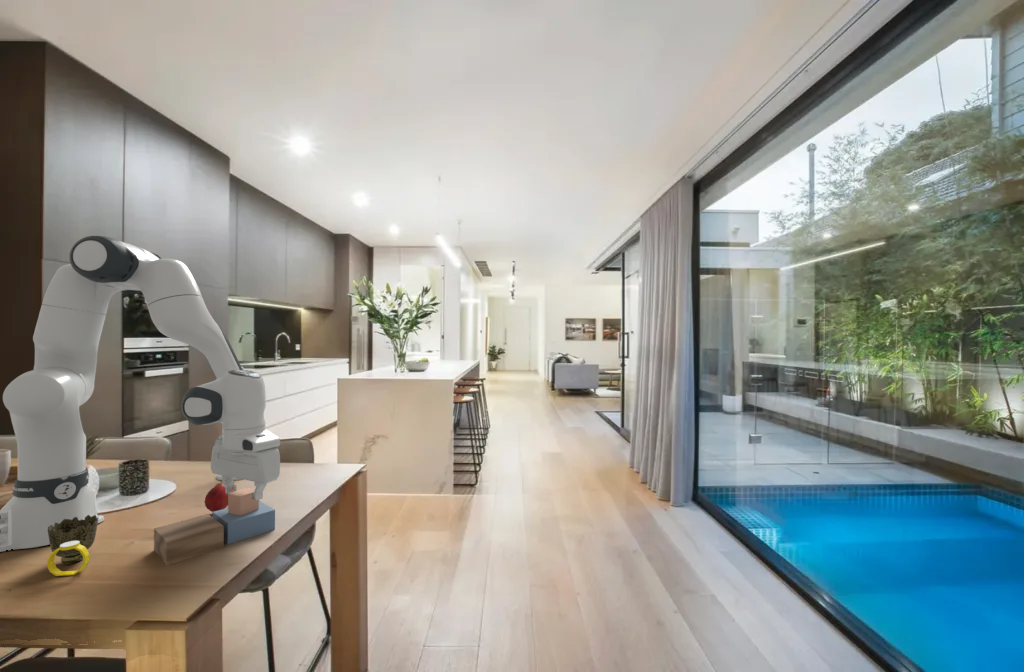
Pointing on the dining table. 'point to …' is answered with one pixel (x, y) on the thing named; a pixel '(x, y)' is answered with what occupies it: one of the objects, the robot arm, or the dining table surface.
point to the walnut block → (188, 538)
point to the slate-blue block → (246, 523)
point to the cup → (72, 536)
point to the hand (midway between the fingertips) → (243, 496)
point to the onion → (216, 498)
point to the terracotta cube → (242, 502)
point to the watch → (68, 546)
